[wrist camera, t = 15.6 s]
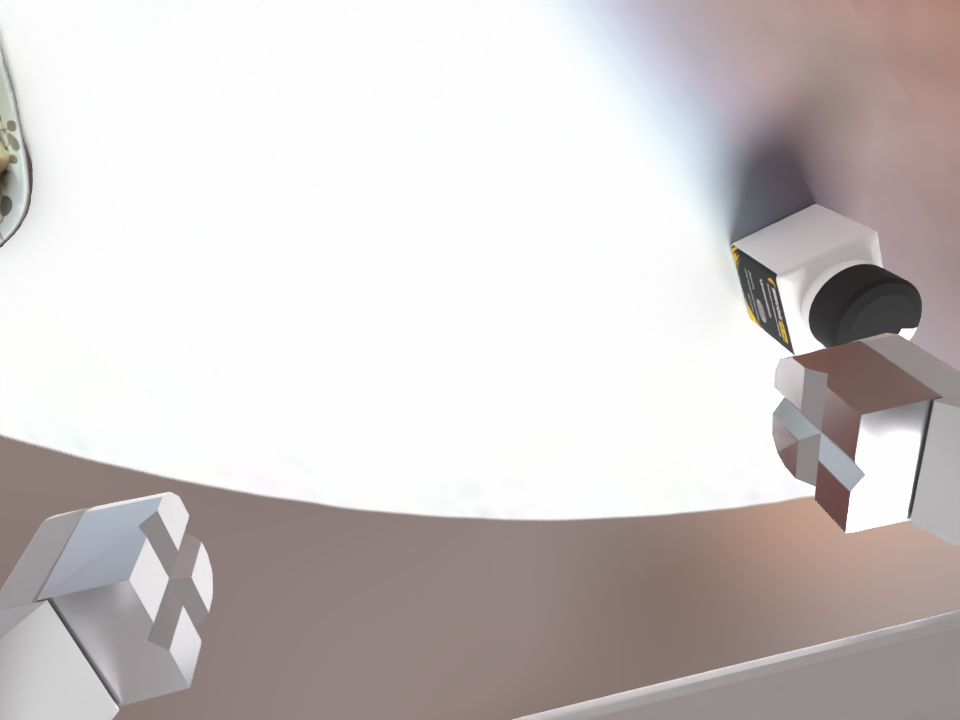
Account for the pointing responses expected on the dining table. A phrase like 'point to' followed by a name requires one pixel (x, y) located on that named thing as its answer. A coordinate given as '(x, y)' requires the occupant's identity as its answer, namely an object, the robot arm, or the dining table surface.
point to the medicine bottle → (822, 282)
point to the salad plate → (12, 162)
